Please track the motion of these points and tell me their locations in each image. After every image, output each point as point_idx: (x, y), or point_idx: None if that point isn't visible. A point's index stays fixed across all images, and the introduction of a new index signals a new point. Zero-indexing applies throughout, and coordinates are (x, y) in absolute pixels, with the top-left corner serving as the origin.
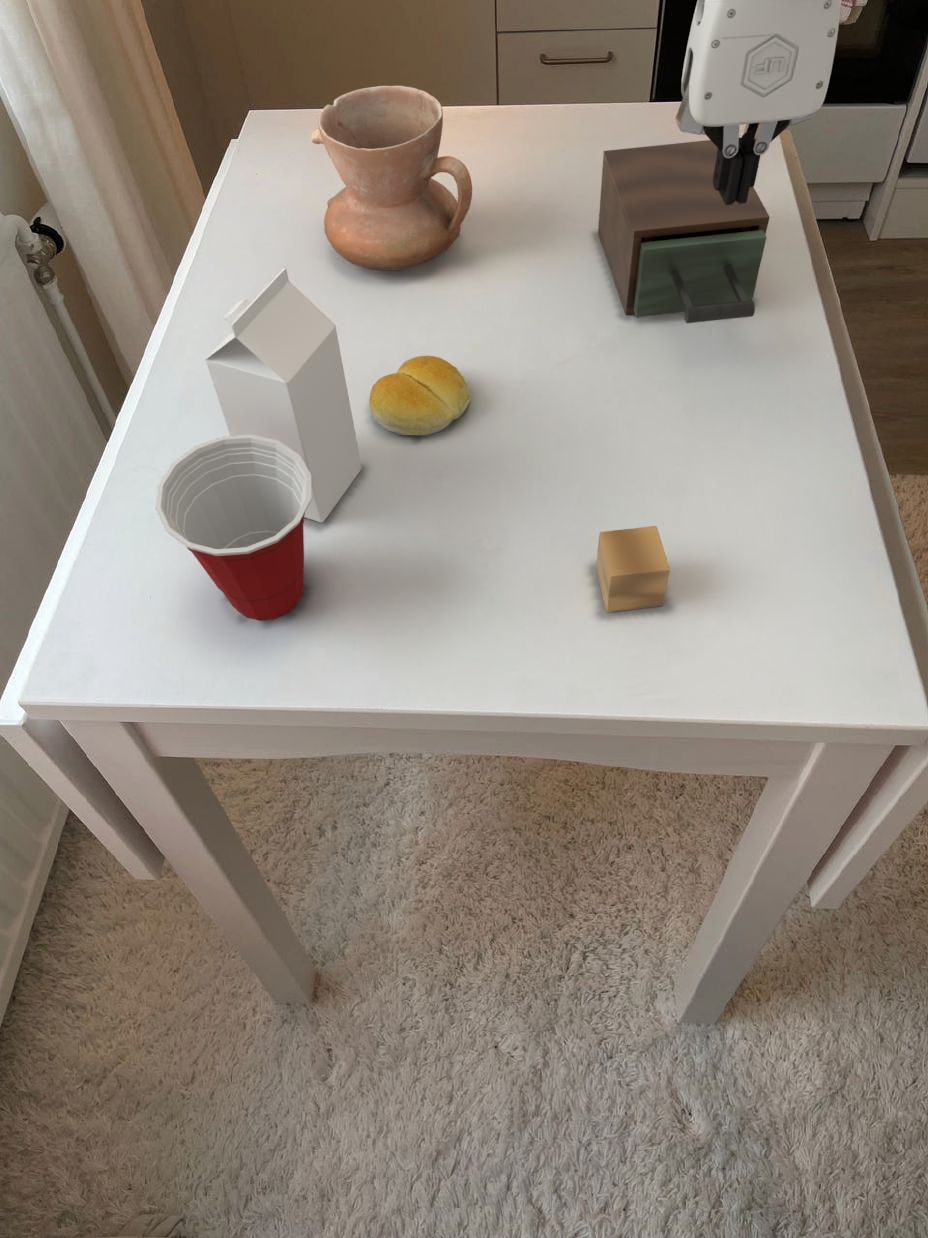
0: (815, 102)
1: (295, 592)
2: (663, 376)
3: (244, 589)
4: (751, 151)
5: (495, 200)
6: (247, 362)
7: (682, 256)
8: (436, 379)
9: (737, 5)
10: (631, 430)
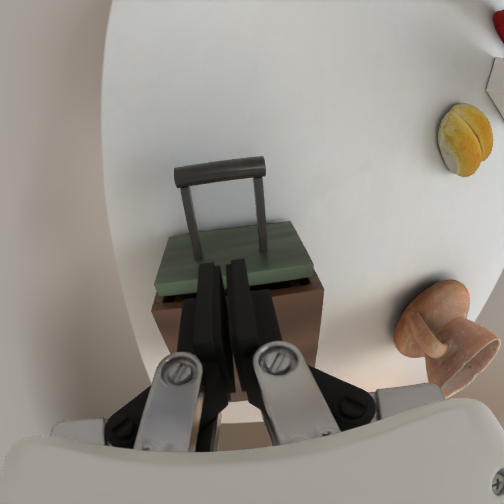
0: (12, 468)
1: (500, 12)
2: (273, 135)
3: None
4: (203, 363)
5: (353, 355)
6: None
7: (259, 261)
8: (472, 137)
9: None
10: (317, 62)
